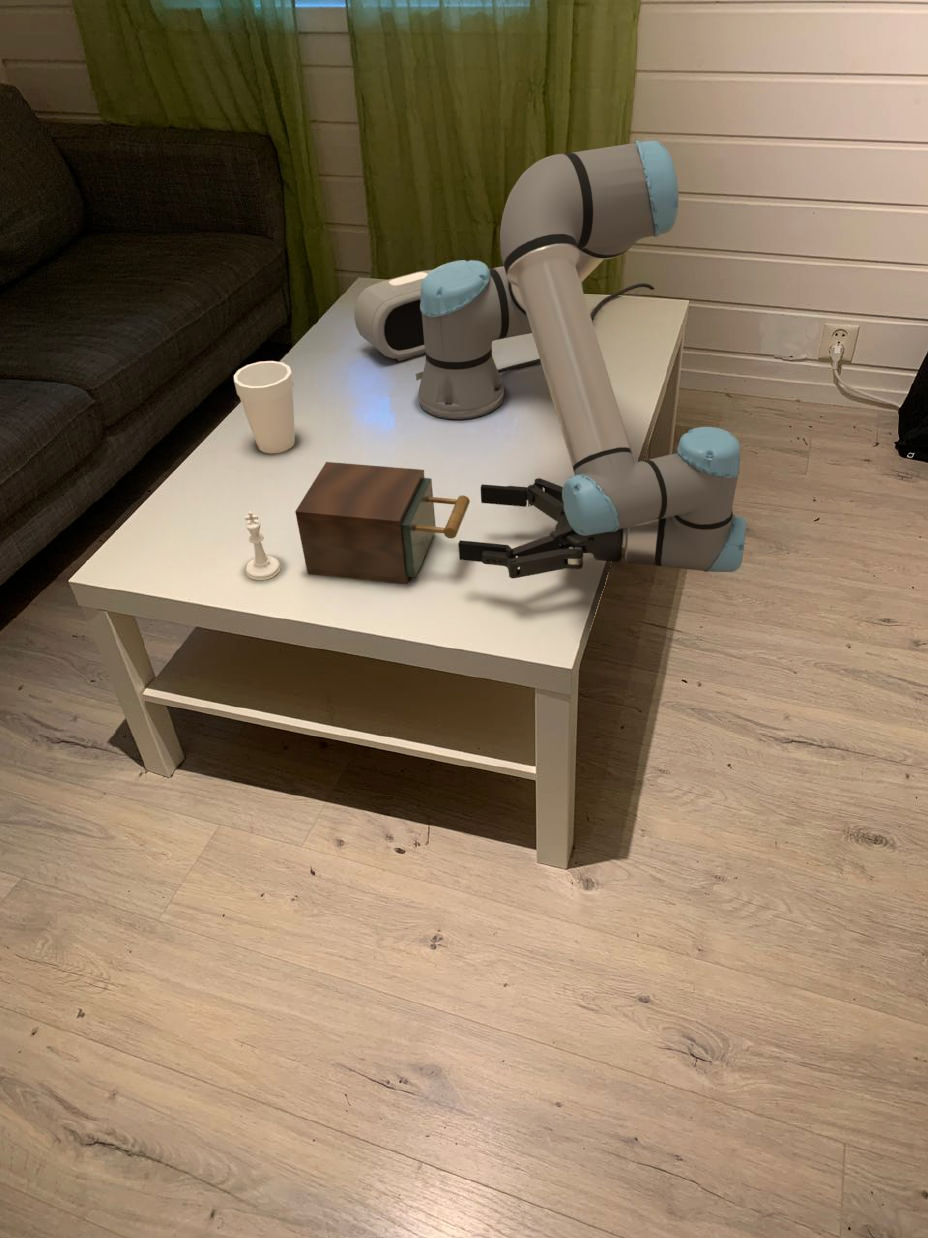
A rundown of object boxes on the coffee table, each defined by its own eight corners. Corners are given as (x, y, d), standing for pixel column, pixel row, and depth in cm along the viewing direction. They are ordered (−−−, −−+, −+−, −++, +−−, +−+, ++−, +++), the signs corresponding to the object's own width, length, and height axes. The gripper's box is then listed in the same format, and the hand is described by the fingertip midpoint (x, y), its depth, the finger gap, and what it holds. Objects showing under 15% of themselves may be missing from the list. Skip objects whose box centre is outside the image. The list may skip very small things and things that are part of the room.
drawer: (474, 532, 147) (471, 481, 142) (456, 581, 139) (452, 529, 133) (349, 521, 152) (341, 470, 146) (323, 567, 143) (314, 516, 137)
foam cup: (293, 460, 168) (279, 389, 159) (241, 456, 169) (224, 386, 161) (310, 431, 175) (298, 361, 166) (260, 428, 176) (246, 359, 168)
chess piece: (248, 561, 147) (234, 504, 140) (281, 557, 147) (269, 500, 140) (245, 581, 143) (230, 524, 137) (279, 578, 143) (266, 521, 137)
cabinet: (429, 531, 150) (424, 469, 143) (406, 584, 141) (399, 521, 134) (336, 522, 153) (326, 461, 146) (307, 573, 144) (295, 511, 137)
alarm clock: (380, 369, 191) (372, 301, 182) (358, 351, 197) (350, 284, 188) (473, 340, 198) (470, 274, 189) (449, 324, 204) (445, 258, 196)
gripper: (612, 615, 128) (451, 598, 132) (633, 505, 146) (490, 493, 150) (615, 569, 123) (447, 553, 127) (636, 461, 141) (488, 450, 146)
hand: (470, 520), depth 139 cm, fingers open, 13 cm apart
